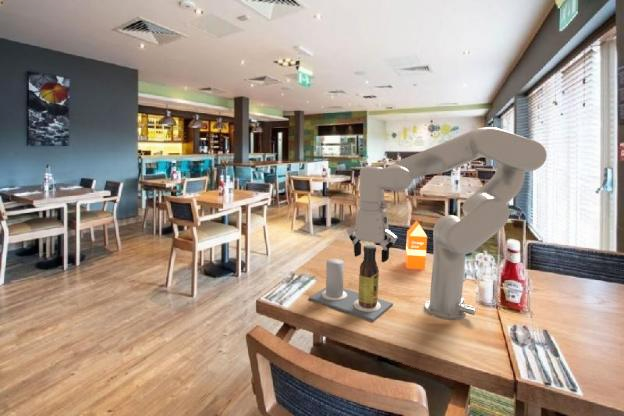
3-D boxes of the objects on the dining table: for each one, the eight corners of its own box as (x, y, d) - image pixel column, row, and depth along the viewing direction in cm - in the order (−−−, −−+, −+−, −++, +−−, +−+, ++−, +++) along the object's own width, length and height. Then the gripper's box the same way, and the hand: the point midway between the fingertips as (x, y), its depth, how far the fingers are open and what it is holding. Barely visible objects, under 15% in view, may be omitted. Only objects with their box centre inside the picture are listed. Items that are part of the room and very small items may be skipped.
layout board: (392, 305, 119) (394, 268, 116) (373, 321, 108) (375, 281, 105) (331, 286, 133) (332, 253, 131) (308, 299, 122) (309, 263, 120)
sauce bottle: (377, 310, 113) (379, 250, 109) (357, 308, 114) (359, 249, 110) (377, 301, 119) (380, 244, 115) (358, 299, 120) (360, 243, 117)
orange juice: (406, 268, 154) (409, 223, 150) (404, 261, 163) (407, 219, 159) (425, 269, 153) (428, 224, 149) (422, 262, 161) (425, 220, 158)
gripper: (402, 206, 108) (401, 260, 111) (353, 202, 118) (353, 250, 122) (392, 210, 102) (390, 266, 105) (341, 205, 113) (341, 256, 116)
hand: (370, 258), depth 113 cm, fingers open, 9 cm apart
